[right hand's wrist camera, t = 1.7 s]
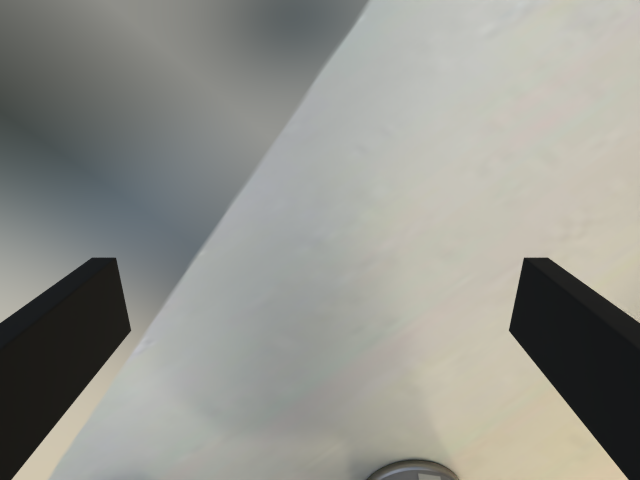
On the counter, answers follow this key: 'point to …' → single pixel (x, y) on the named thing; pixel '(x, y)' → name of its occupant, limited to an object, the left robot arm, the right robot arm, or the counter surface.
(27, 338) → the right robot arm
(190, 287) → the counter surface
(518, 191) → the counter surface
